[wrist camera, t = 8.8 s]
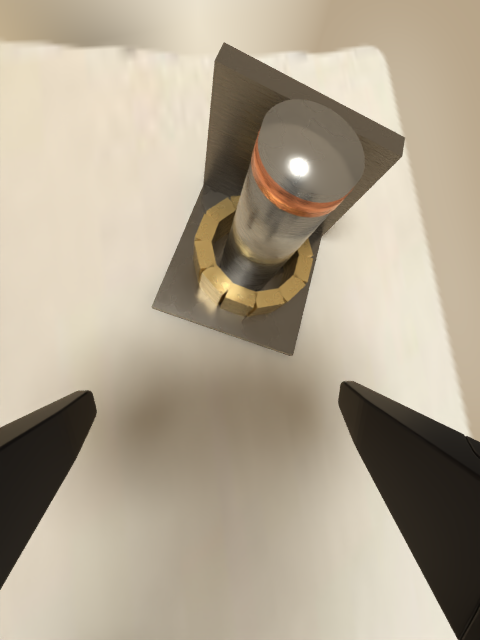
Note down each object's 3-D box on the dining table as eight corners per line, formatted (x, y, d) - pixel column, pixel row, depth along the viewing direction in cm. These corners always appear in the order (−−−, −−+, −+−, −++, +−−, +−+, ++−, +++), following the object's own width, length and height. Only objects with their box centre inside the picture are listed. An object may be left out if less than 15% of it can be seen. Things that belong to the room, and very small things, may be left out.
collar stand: (289, 355, 20) (374, 343, 11) (152, 308, 19) (120, 249, 10) (323, 216, 24) (406, 124, 15) (212, 167, 23) (230, 29, 13)
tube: (262, 300, 20) (350, 216, 9) (211, 276, 20) (241, 157, 9) (279, 256, 22) (376, 135, 11) (233, 232, 21) (282, 80, 10)
